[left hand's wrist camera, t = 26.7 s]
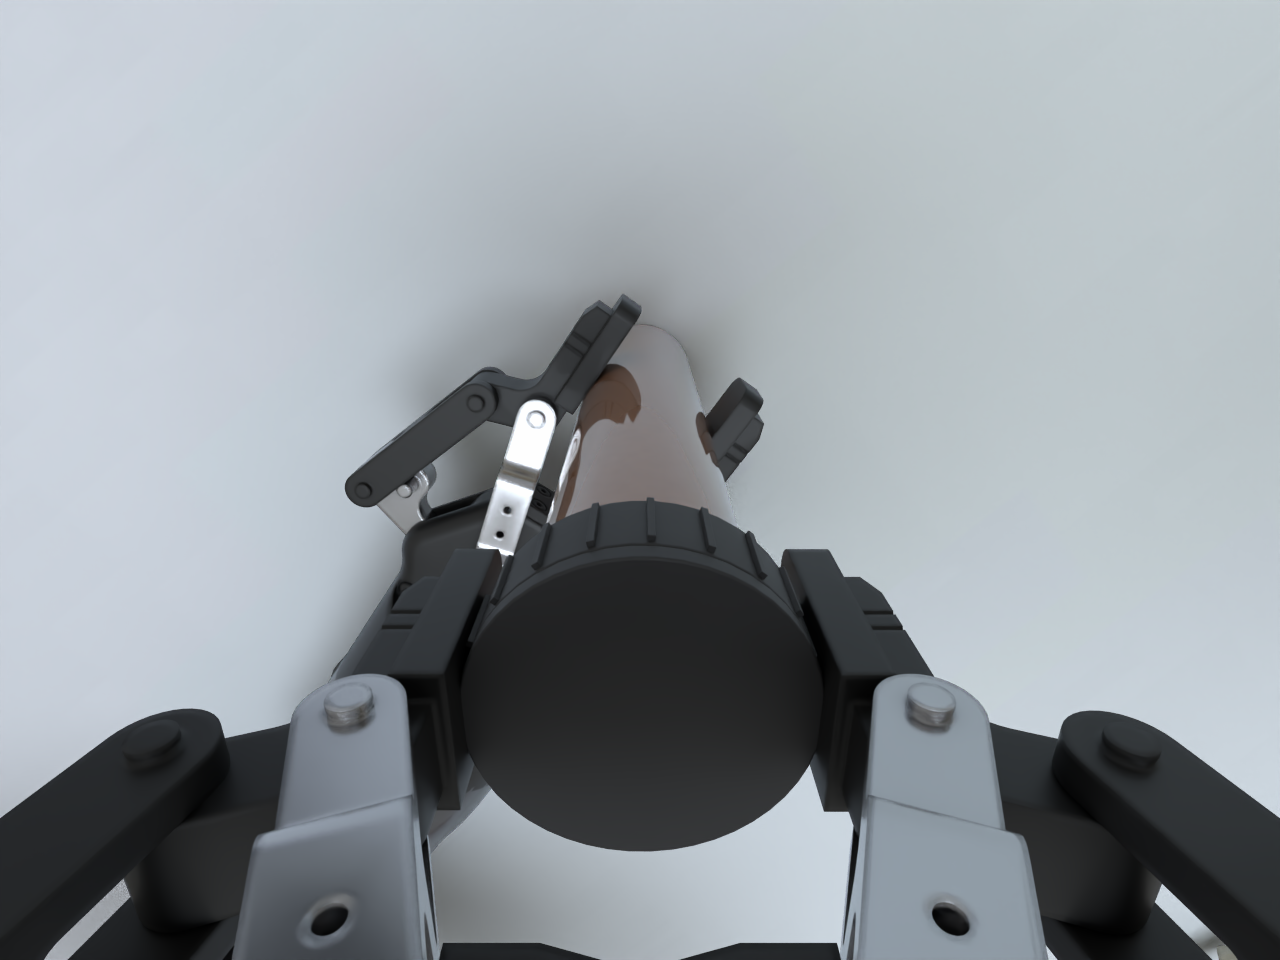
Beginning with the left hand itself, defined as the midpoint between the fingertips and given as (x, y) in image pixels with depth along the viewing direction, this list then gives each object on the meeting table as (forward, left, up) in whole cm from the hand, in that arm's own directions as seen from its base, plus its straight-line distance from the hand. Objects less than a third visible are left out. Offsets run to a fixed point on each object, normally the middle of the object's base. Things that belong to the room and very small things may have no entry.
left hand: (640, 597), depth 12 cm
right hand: (-3, -1, -11) cm, 11 cm away
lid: (0, 0, +3) cm, 3 cm away
